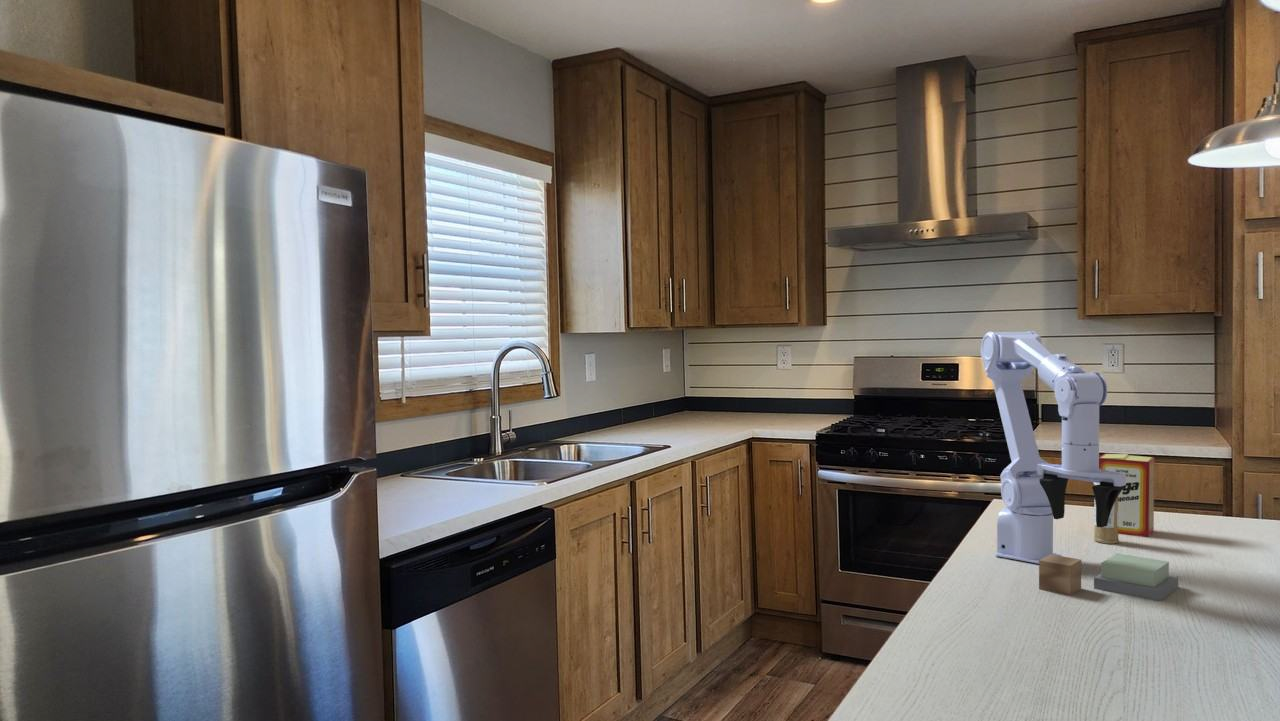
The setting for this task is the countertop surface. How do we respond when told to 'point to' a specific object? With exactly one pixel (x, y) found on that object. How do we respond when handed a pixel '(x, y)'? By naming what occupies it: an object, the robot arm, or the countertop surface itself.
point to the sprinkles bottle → (1111, 530)
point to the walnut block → (1060, 574)
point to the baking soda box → (1133, 492)
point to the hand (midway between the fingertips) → (1079, 522)
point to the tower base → (1138, 587)
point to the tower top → (1135, 569)
